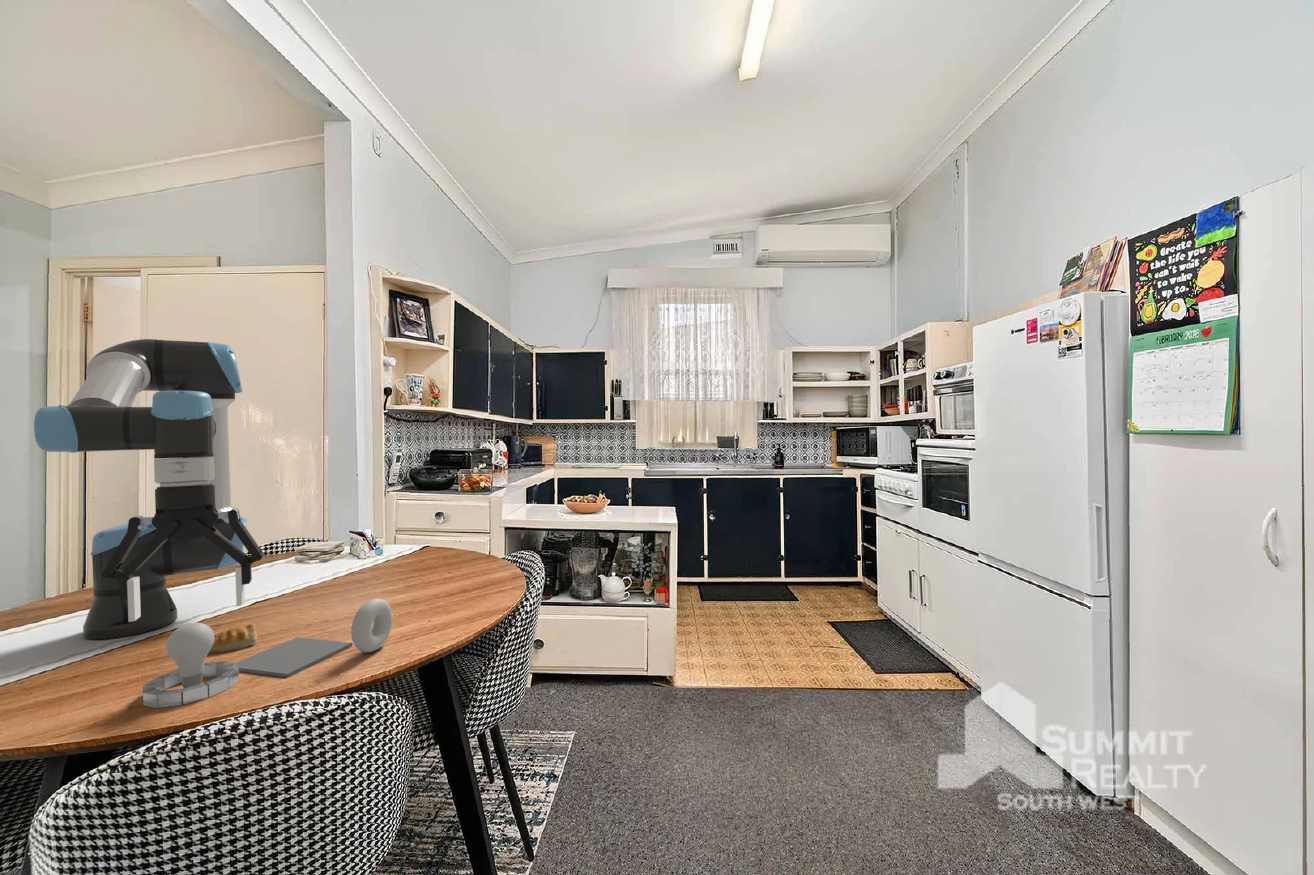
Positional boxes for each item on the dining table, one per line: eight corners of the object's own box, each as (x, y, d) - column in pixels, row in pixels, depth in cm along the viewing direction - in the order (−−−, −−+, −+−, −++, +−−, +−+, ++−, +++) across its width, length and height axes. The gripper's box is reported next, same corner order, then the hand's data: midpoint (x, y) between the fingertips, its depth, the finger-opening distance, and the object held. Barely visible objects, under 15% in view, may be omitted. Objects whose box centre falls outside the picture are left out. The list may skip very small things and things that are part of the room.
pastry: (198, 659, 103) (197, 639, 103) (198, 649, 108) (197, 630, 108) (259, 645, 109) (258, 627, 109) (256, 637, 114) (255, 619, 114)
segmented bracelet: (123, 702, 86) (123, 690, 86) (204, 669, 97) (204, 658, 97) (178, 711, 83) (177, 698, 83) (255, 676, 94) (254, 665, 94)
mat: (226, 669, 97) (226, 666, 97) (297, 640, 111) (297, 637, 111) (287, 677, 94) (287, 673, 94) (352, 645, 107) (352, 642, 107)
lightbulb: (194, 679, 94) (192, 616, 93) (225, 681, 93) (223, 617, 93) (157, 697, 87) (155, 629, 87) (190, 698, 87) (187, 631, 86)
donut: (364, 661, 99) (363, 608, 99) (347, 661, 100) (346, 607, 100) (397, 640, 109) (395, 591, 109) (381, 640, 110) (379, 591, 110)
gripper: (69, 491, 80) (74, 633, 80) (274, 480, 92) (278, 603, 93) (91, 487, 87) (95, 619, 87) (279, 477, 99) (283, 592, 99)
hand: (189, 611), depth 90 cm, fingers open, 13 cm apart
